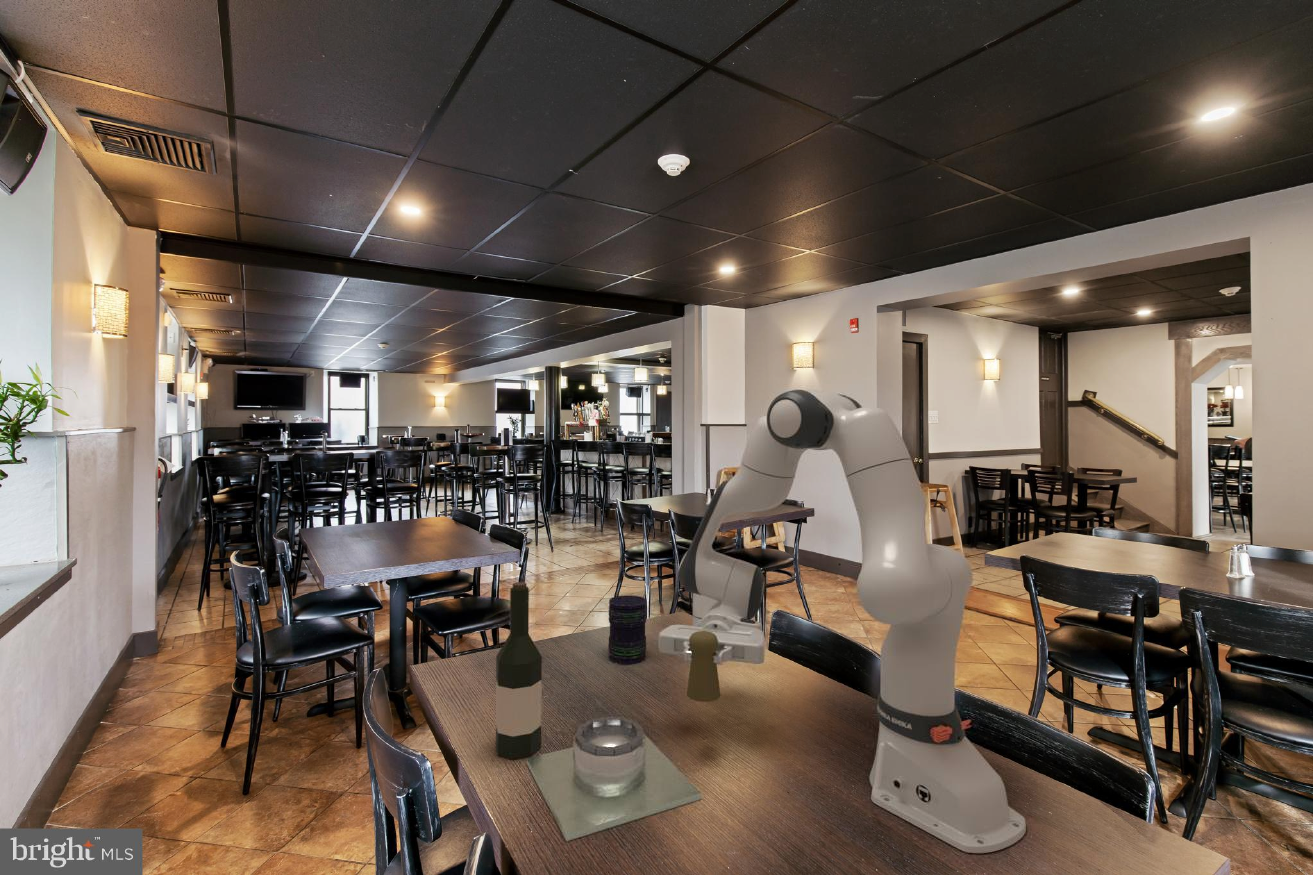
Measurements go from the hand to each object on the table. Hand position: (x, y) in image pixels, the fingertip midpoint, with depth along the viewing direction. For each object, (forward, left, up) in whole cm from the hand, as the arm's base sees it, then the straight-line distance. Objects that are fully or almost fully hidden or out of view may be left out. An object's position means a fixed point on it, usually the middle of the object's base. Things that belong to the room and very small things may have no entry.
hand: (702, 658), depth 104 cm
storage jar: (+50, -8, -18) cm, 53 cm away
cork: (+1, -1, -7) cm, 7 cm away
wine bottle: (+18, +28, -18) cm, 38 cm away
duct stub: (+1, +17, -18) cm, 25 cm away
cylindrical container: (+42, -27, -18) cm, 53 cm away
